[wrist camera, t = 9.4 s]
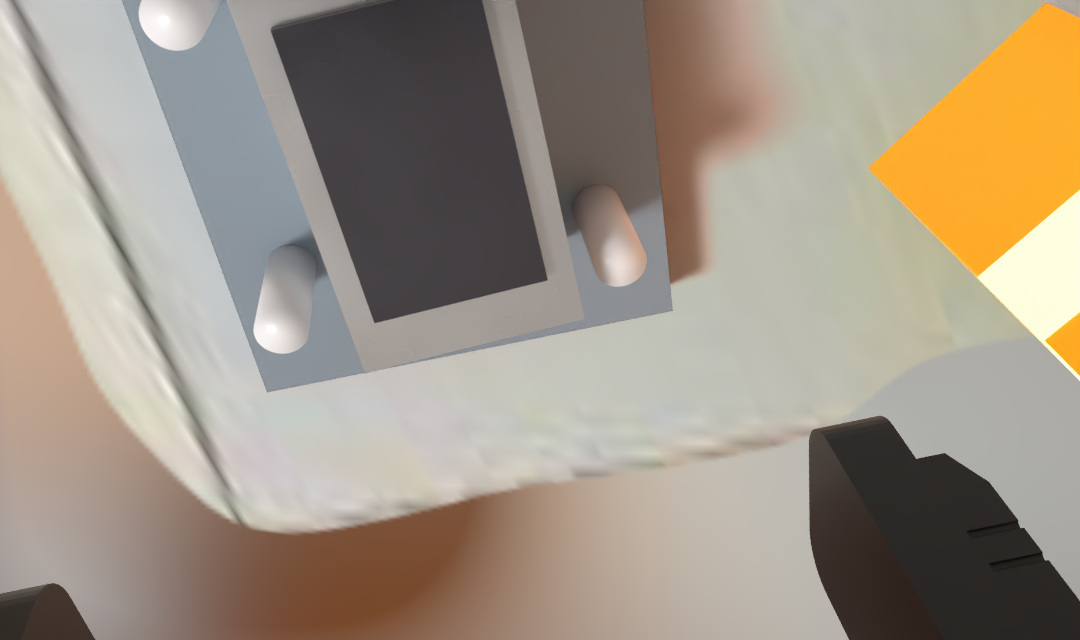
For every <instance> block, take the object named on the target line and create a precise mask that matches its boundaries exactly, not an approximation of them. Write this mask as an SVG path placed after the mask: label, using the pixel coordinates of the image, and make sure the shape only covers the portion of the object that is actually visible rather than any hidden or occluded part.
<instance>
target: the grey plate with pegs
mask: <svg viewBox="0 0 1080 640" xmlns="http://www.w3.org/2000/svg"><path fill="white" fill-rule="evenodd" d="M515 1H516V6H517V10H518V15H519V19H520V24H521V29H522V33H523V38H524V42H525V47H526V52H527V56H528V61H529V65H530V70H531V75H532V79H533V84H534V88H535V93H536V98H537V102H538V107H539V111H540V116H541V121H542V125H543V130H544V134H545V139H546V143H547V148H548V153H549V157H550V162H551V166H552V171H553V176H554V180H555V185H556V189H557V194H558V199H559V203H560V208H561V212H562V217H563V222H564V226H565V231H566V235H567V240H568V245H569V249H570V254H571V258H572V263H573V268H574V272H575V277H576V281H577V286H578V291H579V295H580V300H581V304H582V309H583V313H584V318H585V319H582V320H578V321H574V322H570V323H566V324H562V325H558V326H554V327H550V328H546V329H542V330H537V331H533V332H529V333H525V334H521V335H517V336H513V337H509V338H505V339H501V340H497V341H493V342H489V343H485V344H481V345H477V346H473V347H469V348H465V349H461V350H457V351H453V352H449V353H445V354H441V355H437V356H433V357H429V358H425V359H421V360H417V361H413V362H409V363H405V364H401V365H406V364H411V363H416V362H421V361H426V360H431V359H436V358H440V357H445V356H450V355H455V354H460V353H465V352H470V351H475V350H480V349H485V348H490V347H495V346H500V345H505V344H510V343H515V342H520V341H525V340H530V339H535V338H540V337H545V336H550V335H555V334H560V333H565V332H570V331H575V330H580V329H585V328H590V327H595V326H600V325H605V324H610V323H615V322H620V321H625V320H629V319H634V318H639V317H644V316H649V315H654V314H659V313H664V312H669V311H673V310H672V299H671V289H670V278H669V268H668V257H667V247H666V236H665V226H664V215H663V205H662V194H661V184H660V173H659V163H658V152H657V142H656V131H655V121H654V110H653V100H652V89H651V79H650V68H649V58H648V47H647V37H646V26H645V16H644V5H643V0H515ZM122 2H123V5H124V7H125V10H126V13H127V16H128V18H129V21H130V24H131V26H132V29H133V32H134V34H135V37H136V40H137V43H138V45H139V48H140V51H141V53H142V56H143V59H144V61H145V64H146V67H147V69H148V72H149V75H150V78H151V80H152V83H153V86H154V88H155V91H156V94H157V96H158V99H159V102H160V105H161V107H162V110H163V113H164V115H165V118H166V121H167V123H168V126H169V129H170V132H171V134H172V137H173V140H174V142H175V145H176V148H177V150H178V153H179V156H180V159H181V161H182V164H183V167H184V169H185V172H186V175H187V177H188V180H189V183H190V185H191V188H192V191H193V194H194V196H195V199H196V202H197V204H198V207H199V210H200V212H201V215H202V218H203V221H204V223H205V226H206V229H207V231H208V234H209V237H210V239H211V242H212V245H213V248H214V250H215V253H216V256H217V258H218V261H219V264H220V266H221V269H222V272H223V275H224V277H225V280H226V283H227V285H228V288H229V291H230V293H231V296H232V299H233V302H234V304H235V307H236V310H237V312H238V315H239V318H240V320H241V323H242V326H243V328H244V331H245V334H246V337H247V339H248V342H249V345H250V347H251V350H252V353H253V355H254V358H255V361H256V364H257V366H258V369H259V372H260V374H261V377H262V380H263V382H264V385H265V388H266V391H267V392H271V391H276V390H281V389H286V388H291V387H296V386H301V385H306V384H311V383H316V382H321V381H326V380H331V379H336V378H341V377H346V376H351V375H356V374H361V373H365V372H364V369H363V366H362V364H361V361H360V358H359V355H358V353H357V350H356V347H355V345H354V342H353V339H352V337H351V334H350V331H349V329H348V326H347V323H346V321H345V318H344V315H343V313H342V310H341V307H340V304H339V302H338V299H337V296H336V294H335V291H334V288H333V286H332V283H331V280H330V278H329V275H328V272H327V270H326V267H325V264H324V262H323V259H322V256H321V253H320V251H319V248H318V245H317V243H316V240H315V237H314V235H313V232H312V229H311V227H310V224H309V221H308V219H307V216H306V213H305V211H304V208H303V205H302V202H301V200H300V197H299V194H298V192H297V189H296V186H295V184H294V181H293V178H292V176H291V173H290V170H289V168H288V165H287V162H286V160H285V157H284V154H283V151H282V149H281V146H280V143H279V141H278V138H277V135H276V133H275V130H274V127H273V125H272V122H271V119H270V117H269V114H268V111H267V109H266V106H265V103H264V100H263V98H262V95H261V92H260V90H259V87H258V84H257V82H256V79H255V76H254V74H253V71H252V68H251V66H250V63H249V60H248V58H247V55H246V52H245V49H244V47H243V44H242V41H241V39H240V36H239V33H238V31H237V28H236V25H235V23H234V20H233V17H232V15H231V12H230V9H229V7H228V4H227V1H226V0H122ZM401 365H396V366H401ZM396 366H392V367H396ZM388 368H391V367H388ZM384 369H386V368H384ZM380 370H381V369H380Z"/></svg>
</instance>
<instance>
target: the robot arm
mask: <svg viewBox="0 0 1080 640" xmlns="http://www.w3.org/2000/svg"><path fill="white" fill-rule="evenodd" d="M809 499H810V500H809V501H810V502H809V505H810V506H809V508H810V539H811V546H812V551H813V556H814V559H815V564H816V567H817V571H818V574H819V576H820V579H821V582H822V584H823V587H824V589H825V591H826V593H827V596H828V598H829V599H830V601H831V604H832V606H833V608H834V610H835V612H836V614H837V616H838V618H839V620H840V622H841V624H842V626H843V628H844V630H845V632H846V634H847V636H848V638H849V640H1080V601H1079V599H1078V598H1077V597H1076V595H1075V594H1074V593H1073V592H1072V590H1071V589H1070V588H1069V586H1068V585H1067V584H1066V582H1065V581H1064V580H1063V578H1062V577H1061V576H1060V574H1059V573H1058V572H1057V571H1056V569H1055V568H1054V567H1053V565H1052V564H1051V563H1050V561H1048V560H1047V561H1045V560H1044V558H1043V555H1042V551H1041V550H1040V548H1039V547H1038V546H1037V544H1036V543H1035V542H1034V540H1033V539H1032V538H1031V537H1030V535H1029V534H1028V533H1027V531H1026V530H1025V529H1024V528H1020V526H1019V524H1018V519H1017V518H1016V517H1015V516H1014V515H1013V513H1012V512H1011V510H1010V509H1009V508H1008V506H1007V505H1006V504H1005V503H1004V501H1003V500H1002V498H1001V497H1000V496H999V495H998V493H997V492H996V491H995V490H994V488H993V487H992V485H991V484H990V483H989V482H988V481H987V480H985V479H983V478H982V477H980V476H979V475H977V474H976V473H974V472H973V471H971V470H969V469H968V468H966V467H965V466H963V465H962V464H960V463H959V462H957V461H956V460H954V459H953V458H951V457H950V456H948V455H947V454H945V453H943V454H939V455H934V456H929V457H924V458H919V459H916V458H915V457H914V455H913V454H912V452H911V451H910V449H909V448H908V446H907V445H906V444H905V442H904V441H903V439H902V438H901V436H900V435H899V433H898V432H897V431H896V429H895V428H894V426H893V425H892V424H891V422H890V421H889V420H888V419H887V418H885V417H883V416H876V417H871V418H867V419H862V420H857V421H852V422H847V423H842V424H837V425H832V426H828V427H823V428H818V429H814V430H812V432H811V434H810V439H809ZM0 640H95V639H94V637H93V635H92V634H91V632H90V630H89V629H88V627H87V625H86V623H85V622H84V620H83V618H82V616H81V615H80V613H79V612H78V610H77V608H76V606H75V605H74V603H73V601H72V599H71V598H70V596H69V595H68V593H67V592H66V590H65V589H64V588H63V587H61V586H60V585H58V584H54V583H52V584H46V585H41V586H36V587H32V588H26V589H21V590H17V591H12V592H7V593H2V594H0Z"/></svg>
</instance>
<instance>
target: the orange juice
mask: <svg viewBox="0 0 1080 640" xmlns="http://www.w3.org/2000/svg"><path fill="white" fill-rule="evenodd" d="M868 169H869V170H870V171H871V172H872V173H873V174H874V175H875V176H876V177H877V178H878V179H879V180H880V181H881V182H882V183H883V184H884V185H885V186H886V187H887V188H888V189H889V190H890V191H891V192H892V193H893V194H894V195H895V196H896V197H897V198H898V199H899V200H900V201H901V202H902V203H903V204H904V205H905V206H906V207H907V208H908V209H909V210H910V211H911V212H912V213H913V214H914V215H915V216H916V217H917V218H918V219H919V220H920V221H921V222H922V223H923V224H924V225H925V226H926V227H927V228H928V229H929V230H930V231H931V232H932V233H933V234H934V235H935V236H936V237H937V238H938V239H939V240H940V241H941V242H942V243H943V244H944V245H945V246H946V247H947V248H948V249H949V250H950V251H951V252H952V253H953V254H954V255H955V256H956V257H957V258H958V259H959V260H960V261H961V262H962V263H963V264H964V265H965V266H966V267H967V268H968V269H969V270H970V271H971V272H972V273H973V274H974V275H975V276H976V277H977V278H978V279H979V280H980V281H981V282H982V283H983V284H984V285H985V286H986V287H987V288H988V289H989V290H990V291H991V292H992V293H993V294H994V295H995V296H996V297H997V298H998V299H999V300H1000V302H1001V303H1002V304H1003V305H1004V306H1005V307H1006V308H1007V309H1008V310H1009V311H1010V312H1011V313H1012V314H1013V315H1014V316H1015V317H1016V318H1017V319H1018V320H1019V321H1020V322H1021V323H1022V324H1023V325H1024V326H1025V327H1026V328H1027V329H1028V330H1029V331H1030V332H1031V333H1032V334H1033V335H1034V336H1035V337H1036V338H1037V339H1038V340H1039V341H1040V342H1041V343H1042V344H1043V345H1044V346H1045V347H1046V348H1047V349H1048V350H1049V351H1051V352H1052V353H1053V354H1054V355H1055V356H1056V357H1057V358H1058V359H1059V360H1060V361H1061V362H1062V363H1063V364H1064V365H1065V366H1066V367H1067V368H1068V369H1069V370H1070V371H1071V372H1072V373H1073V374H1074V375H1075V376H1076V377H1077V378H1078V379H1079V380H1080V18H1078V17H1076V16H1074V15H1071V14H1069V13H1067V12H1065V11H1063V10H1061V9H1058V8H1056V7H1054V6H1052V5H1050V4H1048V3H1046V4H1044V5H1043V6H1042V7H1041V8H1040V9H1039V10H1038V11H1037V12H1036V13H1035V14H1034V15H1033V16H1032V17H1030V18H1029V19H1028V20H1027V21H1026V22H1025V23H1024V24H1023V25H1022V26H1021V27H1020V28H1019V29H1018V30H1017V31H1015V32H1014V33H1013V34H1012V35H1011V36H1010V37H1009V38H1008V39H1007V40H1006V41H1005V42H1004V43H1003V44H1001V45H1000V46H999V47H998V48H997V49H996V50H995V51H994V52H993V53H992V54H991V55H990V56H989V57H987V58H986V59H985V60H984V61H983V62H982V63H981V64H980V65H979V66H978V67H977V68H976V69H975V70H974V71H972V72H971V73H970V74H969V75H968V76H967V77H966V78H965V79H964V80H963V81H962V82H961V83H960V84H958V85H957V86H956V87H955V88H954V89H953V90H952V91H951V92H950V93H949V94H948V95H947V96H946V97H945V98H943V99H942V100H941V101H940V102H939V103H938V104H937V105H936V106H935V107H934V108H933V109H932V110H931V111H929V112H928V113H927V114H926V115H925V116H924V117H923V118H922V119H921V120H920V121H919V122H918V123H917V124H916V125H914V126H913V127H912V128H911V129H910V130H909V131H908V132H907V133H906V134H905V135H904V136H903V137H902V138H900V139H899V140H898V141H897V142H896V143H895V144H894V145H893V146H892V147H891V148H890V149H889V150H888V151H887V152H885V153H884V154H883V155H882V156H881V157H880V158H879V159H878V160H877V161H876V162H875V163H874V164H873V165H871V166H870V167H869V168H868Z"/></svg>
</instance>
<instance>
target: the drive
mask: <svg viewBox="0 0 1080 640" xmlns="http://www.w3.org/2000/svg"><path fill="white" fill-rule="evenodd" d="M226 1H227V4H228V7H229V9H230V12H231V15H232V17H233V20H234V23H235V25H236V28H237V31H238V33H239V36H240V39H241V41H242V44H243V47H244V49H245V52H246V55H247V58H248V60H249V63H250V66H251V68H252V71H253V74H254V76H255V79H256V82H257V84H258V87H259V90H260V92H261V95H262V98H263V100H264V103H265V106H266V109H267V111H268V114H269V117H270V119H271V122H272V125H273V127H274V130H275V133H276V135H277V138H278V141H279V143H280V146H281V149H282V151H283V154H284V157H285V160H286V162H287V165H288V168H289V170H290V173H291V176H292V178H293V181H294V184H295V186H296V189H297V192H298V194H299V197H300V200H301V202H302V205H303V208H304V211H305V213H306V216H307V219H308V221H309V224H310V227H311V229H312V232H313V235H314V237H315V240H316V243H317V245H318V248H319V251H320V253H321V256H322V259H323V262H324V264H325V267H326V270H327V272H328V275H329V278H330V280H331V283H332V286H333V288H334V291H335V294H336V296H337V299H338V302H339V304H340V307H341V310H342V313H343V315H344V318H345V321H346V323H347V326H348V329H349V331H350V334H351V337H352V339H353V342H354V345H355V347H356V350H357V353H358V355H359V358H360V361H361V364H362V366H363V369H364V372H365V373H368V372H372V371H376V370H380V369H384V368H388V367H392V366H396V365H401V364H405V363H409V362H413V361H417V360H421V359H425V358H429V357H433V356H437V355H441V354H445V353H449V352H453V351H457V350H461V349H465V348H469V347H473V346H477V345H481V344H485V343H489V342H493V341H497V340H501V339H505V338H509V337H513V336H517V335H521V334H525V333H529V332H533V331H537V330H542V329H546V328H550V327H554V326H558V325H562V324H566V323H570V322H574V321H578V320H582V319H585V318H584V313H583V309H582V304H581V300H580V295H579V291H578V286H577V281H576V277H575V272H574V268H573V263H572V258H571V254H570V249H569V245H568V240H567V235H566V231H565V226H564V222H563V217H562V212H561V208H560V203H559V199H558V194H557V189H556V185H555V180H554V176H553V171H552V166H551V162H550V157H549V153H548V148H547V143H546V139H545V134H544V130H543V125H542V121H541V116H540V111H539V107H538V102H537V98H536V93H535V88H534V84H533V79H532V75H531V70H530V65H529V61H528V56H527V52H526V47H525V42H524V38H523V33H522V29H521V24H520V19H519V15H518V10H517V6H516V1H515V0H226Z"/></svg>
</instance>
